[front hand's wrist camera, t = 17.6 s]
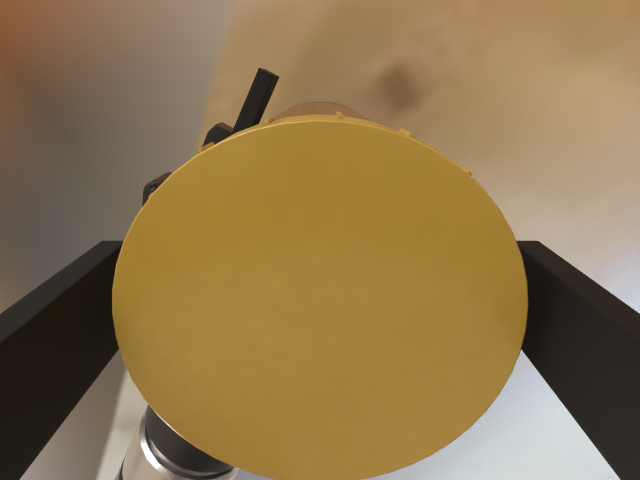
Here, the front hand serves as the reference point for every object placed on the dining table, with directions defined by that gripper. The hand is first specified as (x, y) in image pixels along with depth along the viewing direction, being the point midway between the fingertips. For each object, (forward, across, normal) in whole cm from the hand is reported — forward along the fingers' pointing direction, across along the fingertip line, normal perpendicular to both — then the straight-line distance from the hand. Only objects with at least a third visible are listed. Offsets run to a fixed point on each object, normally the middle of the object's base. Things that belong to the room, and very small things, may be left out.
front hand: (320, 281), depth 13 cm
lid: (-3, 0, 0) cm, 3 cm away
